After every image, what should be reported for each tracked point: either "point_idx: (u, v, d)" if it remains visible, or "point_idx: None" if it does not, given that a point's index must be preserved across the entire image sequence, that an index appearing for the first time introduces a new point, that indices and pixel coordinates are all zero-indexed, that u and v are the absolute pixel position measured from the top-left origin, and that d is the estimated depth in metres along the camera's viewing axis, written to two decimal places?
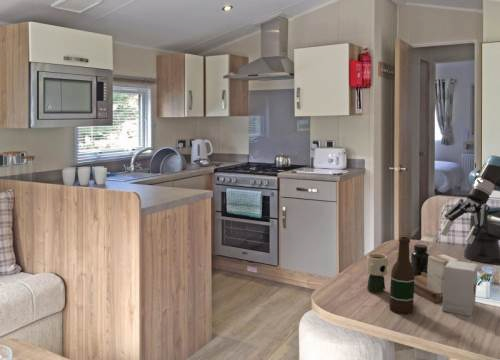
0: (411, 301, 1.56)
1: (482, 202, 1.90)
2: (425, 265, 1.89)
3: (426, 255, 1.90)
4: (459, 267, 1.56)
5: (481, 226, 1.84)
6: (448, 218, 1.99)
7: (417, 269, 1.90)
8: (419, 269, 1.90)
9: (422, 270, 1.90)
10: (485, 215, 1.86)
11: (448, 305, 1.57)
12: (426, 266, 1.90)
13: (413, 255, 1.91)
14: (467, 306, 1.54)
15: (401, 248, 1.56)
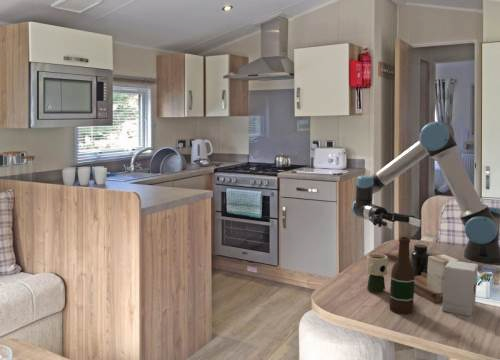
0: (411, 301, 1.56)
1: None
2: (425, 265, 1.89)
3: (426, 255, 1.90)
4: (459, 267, 1.56)
5: (376, 223, 2.03)
6: None
7: (417, 269, 1.90)
8: (419, 269, 1.90)
9: (422, 270, 1.90)
10: (372, 219, 2.08)
11: (448, 305, 1.57)
12: (426, 266, 1.90)
13: (413, 255, 1.91)
14: (467, 306, 1.54)
15: (402, 248, 1.55)
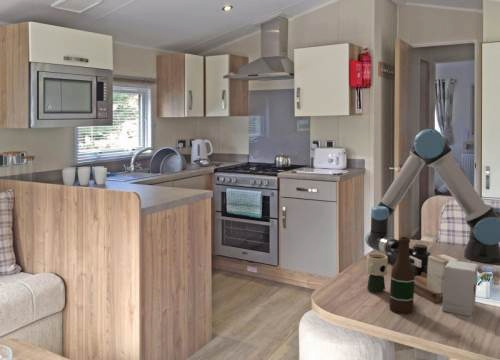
0: (411, 301, 1.56)
1: None
2: (425, 265, 1.89)
3: (426, 255, 1.90)
4: (459, 267, 1.56)
5: None
6: None
7: (417, 269, 1.90)
8: (419, 269, 1.90)
9: (422, 270, 1.90)
10: (394, 256, 1.97)
11: (448, 305, 1.57)
12: (426, 266, 1.90)
13: (413, 255, 1.91)
14: (467, 306, 1.54)
15: (401, 248, 1.56)
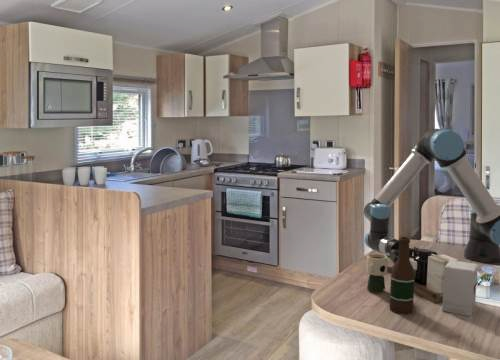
0: (411, 301, 1.56)
1: None
2: None
3: None
4: (459, 267, 1.56)
5: None
6: None
7: (420, 276, 1.76)
8: (422, 275, 1.76)
9: (425, 276, 1.76)
10: (391, 257, 1.84)
11: (448, 305, 1.57)
12: None
13: (416, 260, 1.77)
14: (467, 306, 1.54)
15: (401, 248, 1.55)
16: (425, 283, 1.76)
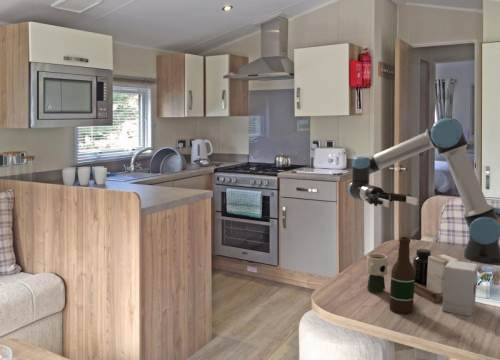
0: (411, 301, 1.56)
1: None
2: None
3: None
4: (459, 267, 1.56)
5: (372, 202, 1.98)
6: None
7: (419, 276, 1.76)
8: (422, 275, 1.76)
9: (425, 277, 1.76)
10: (368, 199, 2.03)
11: (448, 305, 1.57)
12: None
13: (415, 260, 1.77)
14: (467, 306, 1.54)
15: (402, 248, 1.56)
16: (425, 283, 1.76)
